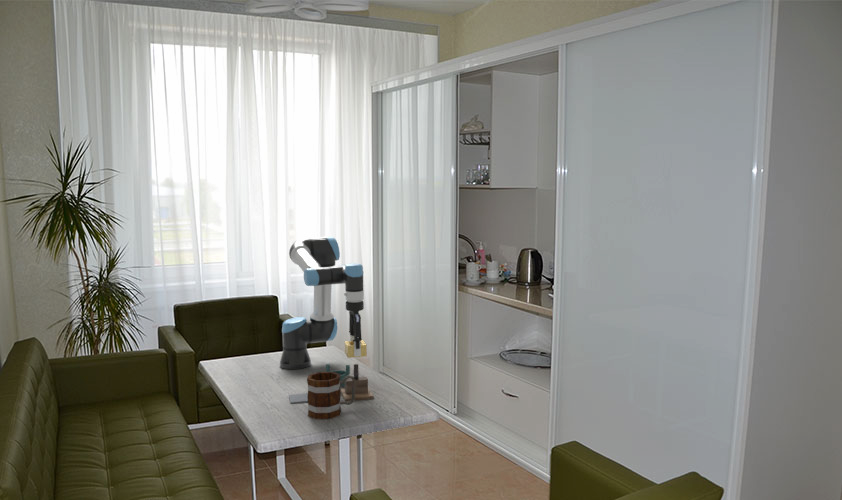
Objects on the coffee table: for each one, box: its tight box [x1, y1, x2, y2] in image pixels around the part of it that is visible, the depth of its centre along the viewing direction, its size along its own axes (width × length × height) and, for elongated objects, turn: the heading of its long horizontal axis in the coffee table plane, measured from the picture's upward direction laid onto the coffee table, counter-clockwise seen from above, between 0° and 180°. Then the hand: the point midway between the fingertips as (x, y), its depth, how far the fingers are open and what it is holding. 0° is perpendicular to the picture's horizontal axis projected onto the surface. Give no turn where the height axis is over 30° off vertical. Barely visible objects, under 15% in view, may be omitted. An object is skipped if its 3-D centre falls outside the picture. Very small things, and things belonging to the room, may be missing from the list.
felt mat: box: [288, 392, 308, 405], centre depth 278 cm, size 10×10×1 cm
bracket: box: [325, 363, 351, 388], centre depth 298 cm, size 9×9×9 cm
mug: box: [306, 371, 356, 420], centre depth 261 cm, size 20×14×15 cm
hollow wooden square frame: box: [344, 339, 368, 359], centre depth 280 cm, size 8×8×5 cm
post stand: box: [340, 363, 375, 402], centre depth 282 cm, size 14×12×13 cm
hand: (355, 353), depth 281 cm, fingers closed on hollow wooden square frame, 8 cm apart
